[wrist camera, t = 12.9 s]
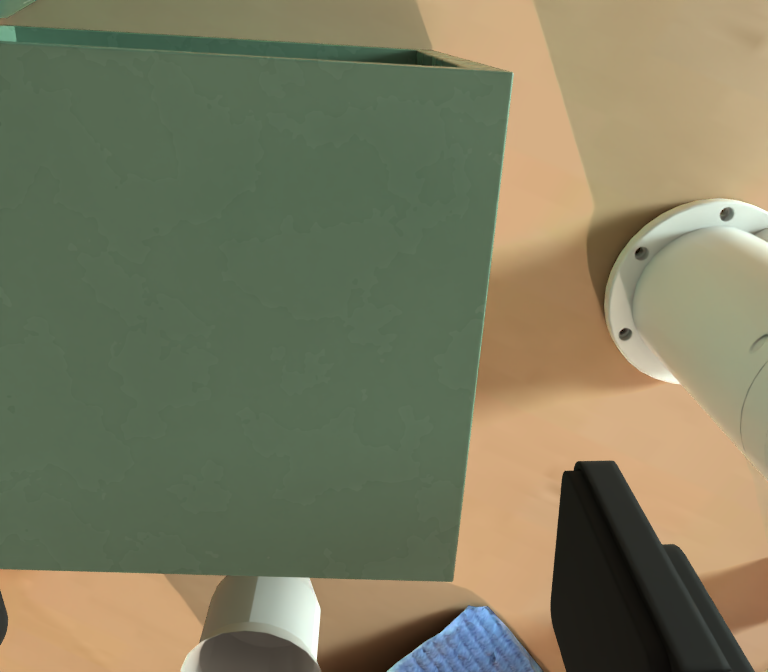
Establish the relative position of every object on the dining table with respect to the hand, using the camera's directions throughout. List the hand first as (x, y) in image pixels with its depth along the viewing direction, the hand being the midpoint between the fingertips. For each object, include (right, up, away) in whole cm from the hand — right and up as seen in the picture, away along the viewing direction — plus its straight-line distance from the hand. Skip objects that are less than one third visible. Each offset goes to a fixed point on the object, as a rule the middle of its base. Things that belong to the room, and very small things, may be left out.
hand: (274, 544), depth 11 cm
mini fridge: (-8, +12, +32) cm, 36 cm away
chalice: (-5, -7, +41) cm, 42 cm away
